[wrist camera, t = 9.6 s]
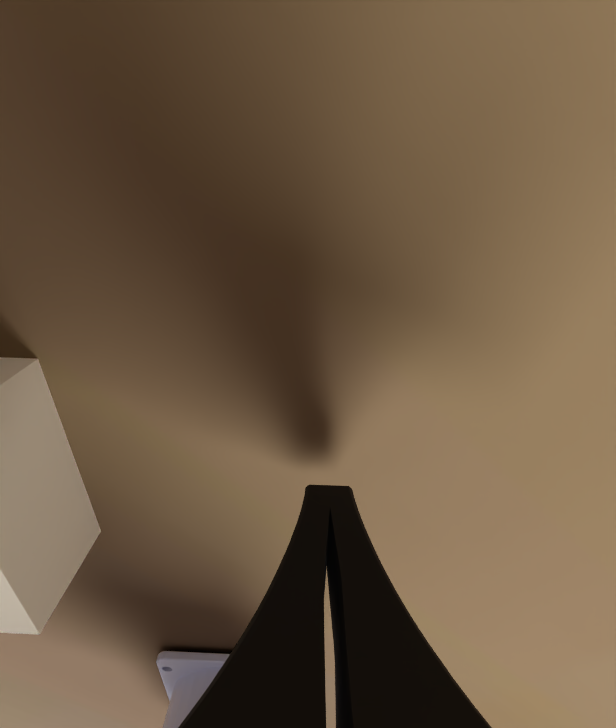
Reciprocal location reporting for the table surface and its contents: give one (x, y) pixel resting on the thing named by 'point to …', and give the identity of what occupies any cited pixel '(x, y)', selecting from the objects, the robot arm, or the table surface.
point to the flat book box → (37, 501)
